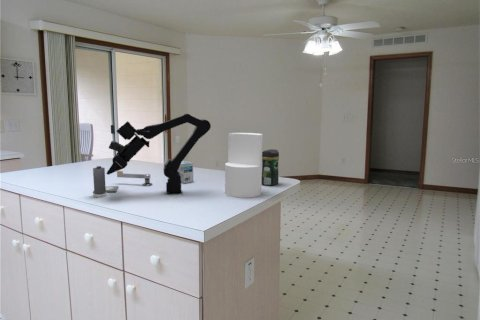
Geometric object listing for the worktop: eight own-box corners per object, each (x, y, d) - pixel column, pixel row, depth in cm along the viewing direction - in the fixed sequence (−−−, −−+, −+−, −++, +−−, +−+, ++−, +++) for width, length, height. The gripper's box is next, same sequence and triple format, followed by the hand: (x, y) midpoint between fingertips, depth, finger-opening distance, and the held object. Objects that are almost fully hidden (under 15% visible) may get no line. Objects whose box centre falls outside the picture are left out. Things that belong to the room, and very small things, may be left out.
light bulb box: (193, 182, 187) (193, 162, 185) (183, 183, 182) (183, 163, 180) (181, 179, 194) (181, 160, 192) (171, 180, 189) (171, 161, 188)
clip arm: (151, 177, 179) (151, 172, 178) (148, 178, 176) (148, 173, 175) (119, 176, 181) (119, 170, 181) (116, 177, 178) (116, 171, 178)
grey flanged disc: (150, 183, 182) (149, 177, 181) (154, 185, 178) (153, 178, 177) (140, 184, 179) (140, 178, 178) (144, 186, 175) (144, 179, 174)
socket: (118, 187, 172) (118, 185, 172) (115, 192, 162) (115, 190, 162) (97, 188, 170) (97, 186, 170) (93, 193, 160) (92, 191, 160)
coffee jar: (267, 181, 190) (268, 148, 187) (280, 183, 186) (281, 149, 183) (258, 184, 182) (259, 149, 179) (272, 186, 178) (273, 151, 175)
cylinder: (237, 187, 176) (237, 132, 172) (267, 191, 168) (268, 133, 163) (217, 194, 162) (218, 134, 157) (250, 199, 153) (251, 136, 149)
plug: (107, 194, 159) (106, 165, 157) (105, 197, 154) (104, 167, 152) (94, 194, 158) (93, 165, 156) (92, 197, 153) (90, 167, 151)
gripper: (121, 133, 163) (97, 156, 162) (117, 136, 145) (90, 163, 144) (139, 149, 166) (115, 172, 165) (137, 154, 148) (111, 181, 147)
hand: (108, 172), depth 155 cm, fingers open, 9 cm apart
